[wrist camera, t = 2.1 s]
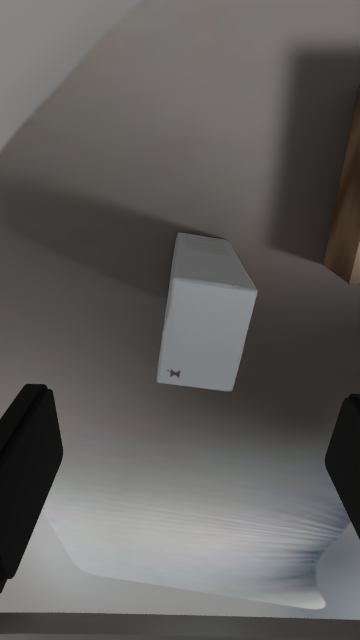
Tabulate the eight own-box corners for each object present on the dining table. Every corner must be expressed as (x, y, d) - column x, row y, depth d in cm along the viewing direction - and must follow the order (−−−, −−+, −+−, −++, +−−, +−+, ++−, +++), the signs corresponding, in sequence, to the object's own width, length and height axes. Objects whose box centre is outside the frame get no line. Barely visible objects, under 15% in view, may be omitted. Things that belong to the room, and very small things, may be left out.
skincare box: (215, 307, 28) (232, 396, 17) (167, 300, 28) (153, 385, 17) (230, 237, 25) (261, 290, 14) (177, 229, 25) (167, 276, 14)
